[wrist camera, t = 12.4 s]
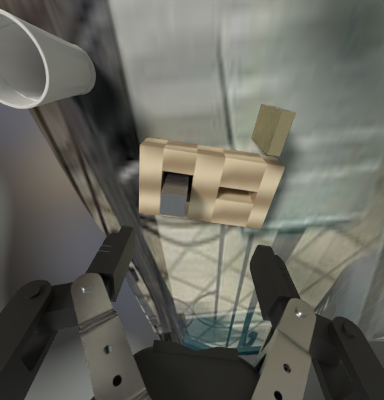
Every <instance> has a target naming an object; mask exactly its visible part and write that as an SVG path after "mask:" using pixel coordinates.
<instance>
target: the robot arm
mask: <svg viewBox="0 0 384 400" xmlns="http://www.w3.org/2000/svg"><path fill="white" fill-rule="evenodd" d="M134 249H135V227H129V226H122V227H121V229H120V231H119V233H112V234H110V235H109V236H108V237H106V239H105V240H104V242H103V244H102V246H101V247H100V249H99V251H98V252H97V254H96V256H95V258H94V259H93V261H92V263H91V264H90V266H89V268H88V270H87V271H86V273H85V274H83V275H81V276H79V277H78V278H77V279H75V280H74V282H71V283H67V284H61V285H55V286H51V284H50V283H49V282H48V281H45V280H35V281H32V282H29V283H27V284H26V285H24V286H23V287H21V288H20V289H19V290H18V291H17V292H16V293H15V295H14V296H13V297H12V298H11V300H10V301H9V302H8V304H7V305H6V306H5V308H4V309H3V310H2V312H1V313H0V400H24V399H25V397H26V394H27V392H28V391H29V388H30V387H31V384H32V382H33V380H34V378H35V376H36V374H37V372H38V370H39V368H40V366H41V364H42V362H43V360H44V358H45V356H46V354H47V352H48V350H49V348H50V346H51V344H52V342H53V340H54V338H55V336H56V334H57V332H58V330H59V329H64V328H68V327H72V326H77V325H79V330H80V335H81V340H82V344H83V348H84V353H85V357H86V361H87V366H88V370H89V375H90V379H91V383H92V388H93V392H94V397H93V398H92V399H91V400H302V399H303V394H304V390H305V386H306V381H307V377H308V372H309V368H310V364H311V360H312V363H313V366H314V368H315V371H316V374H317V377H318V380H319V383H320V386H321V389H322V392H323V394H324V397H325V400H384V369H383V367H382V365H381V364H380V362H379V360H378V359H377V357H376V355H375V354H374V352H373V350H372V348H371V347H370V345H369V343H368V342H367V340H366V338H365V336H364V335H363V333H362V332H361V330H360V329H359V328H358V327H357V326H356V325H355V324H354V323H353V322H352V321H350V320H348V319H346V318H344V317H335V318H334V319H333V320H329V319H327V318H325V317H322V316H320V315H318V314H316V313H315V312H314V311H313V309H312V308H311V307H310V305H308V304H307V303H306V302H305V301H303V300H301V299H300V296H299V294H298V292H297V290H296V288H295V285H294V283H293V281H292V279H291V277H290V275H289V272H288V271H287V268H286V266H285V264H284V262H283V261H282V259H281V258H280V257H279V256H278V255H274V252H273V250H272V248H271V247H270V246H265V245H258V246H257V247H256V250H255V252H254V254H253V256H252V259H251V261H250V271H251V275H252V279H253V283H254V286H255V290H256V294H257V298H258V302H259V305H260V309H261V313H262V317H263V320H268V321H271V324H272V326H271V327H270V329H269V332H268V334H267V336H266V338H265V341H264V343H263V345H262V347H261V350H260V352H259V354H258V356H257V358H256V360H255V362H254V363H253V365H251V364H250V363H249V362H247V361H246V360H244V359H243V358H241V357H239V356H238V351H237V349H233V348H224V347H214V348H209V349H204V350H199V351H195V350H192V349H190V348H187V347H185V346H183V345H180V344H178V343H176V342H168V341H159V340H154V344H153V346H152V347H148V348H145V349H143V350H141V351H139V352H137V353H136V354H134V355H133V354H132V351H131V348H130V346H129V343H128V341H127V338H126V336H125V333H124V330H123V328H122V325H121V322H120V320H119V317H118V315H117V313H116V311H114V309H113V307H112V304H111V302H110V301H112V302H116V299H117V296H118V293H119V291H120V288H121V285H122V283H123V280H124V278H125V275H126V272H127V270H128V267H129V264H130V262H131V259H132V256H133V253H134ZM342 362H343V363H342ZM343 364H344V365H343ZM344 366H345V367H344ZM346 371H347V372H346ZM347 373H348V374H347ZM348 375H349V376H348ZM349 377H350V378H349ZM351 382H352V383H351Z"/></svg>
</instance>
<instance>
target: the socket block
mask: <svg viewBox="0 0 384 400" xmlns="http://www.w3.org/2000/svg"><path fill="white" fill-rule="evenodd" d="M284 169H285V166H284V165H283V164H282V163H281V162H280V161H279V160H278V159H277V158H276V157H275V156H268V155H261V154H255V153H248V152H241V151H235V150H228V149H222V148H215V147H208V146H202V145H195V144H188V143H182V142H175V141H169V140H162V139H155V138H149V137H147V138H146V139H145V140H144V141H143V142H142V143H141V144H140V177H139V213H145V214H153V215H160V216H168V217H175V218H183V219H190V220H197V221H205V222H212V223H220V224H227V225H235V226H242V227H250V228H257V229H261V227H262V225H263V222H264V220H265V217H266V214H267V212H268V209H269V207H270V204H271V202H272V199H273V197H274V194H275V192H276V189H277V187H278V184H279V182H280V179H281V177H282V174H283V172H284ZM166 171H168V172H175V173H182V174H188V175H193V177H192V183H191V189H188V191H187V199H186V206H185V213H184V217H176V216H169V215H161V214H159V213H160V199H161V191H162V188H163V186H164V183H165V173H166ZM224 187H226V188H224ZM231 188H233V189H231ZM238 189H240V190H238ZM245 190H247V191H245Z"/></svg>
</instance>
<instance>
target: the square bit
mask: <svg viewBox="0 0 384 400" xmlns="http://www.w3.org/2000/svg"><path fill="white" fill-rule="evenodd" d="M188 182H189V175H188V174H182V173H175V172H168V174H167V177H166V180H165V183H164V186H163V188H162V191H161V199H160V213H159V214H161V215H169V216H176V217H184V213H185V206H186V199H187V191H188Z"/></svg>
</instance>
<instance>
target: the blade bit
mask: <svg viewBox="0 0 384 400" xmlns="http://www.w3.org/2000/svg"><path fill="white" fill-rule="evenodd" d="M295 114H296V113H295V112H291V111H288V110H284V109H281V108H278V107H274V106H270V105H264V104H261V107H260V110H259V114H258V117H257V121H256V124H255V128H254V131H253V135H252V139H253V140H254V141H255V142H256V143H257V144H258V145H259V146H260V148H261V149H262V150H263V151H264V152H265V153H266V154H267V155H273V156H280V154H281V152H282V149H283V146H284V144H285V141H286V138H287V136H288V133H289V130H290V127H291V125H292V122H293V119H294V117H295Z"/></svg>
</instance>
